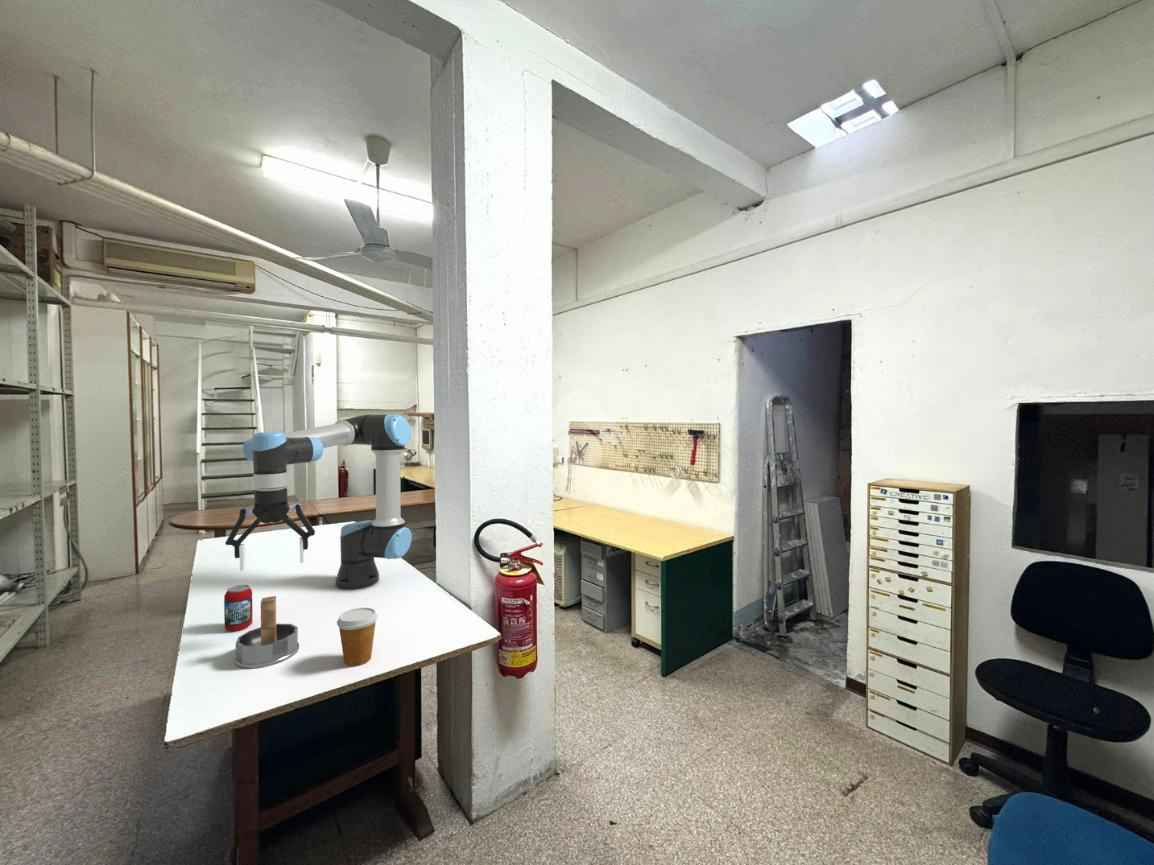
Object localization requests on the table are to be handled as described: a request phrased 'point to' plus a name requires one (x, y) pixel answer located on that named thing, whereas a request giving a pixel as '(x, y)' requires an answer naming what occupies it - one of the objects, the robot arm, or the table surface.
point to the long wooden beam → (268, 620)
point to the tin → (266, 647)
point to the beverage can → (238, 608)
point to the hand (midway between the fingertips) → (273, 565)
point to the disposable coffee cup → (357, 635)
